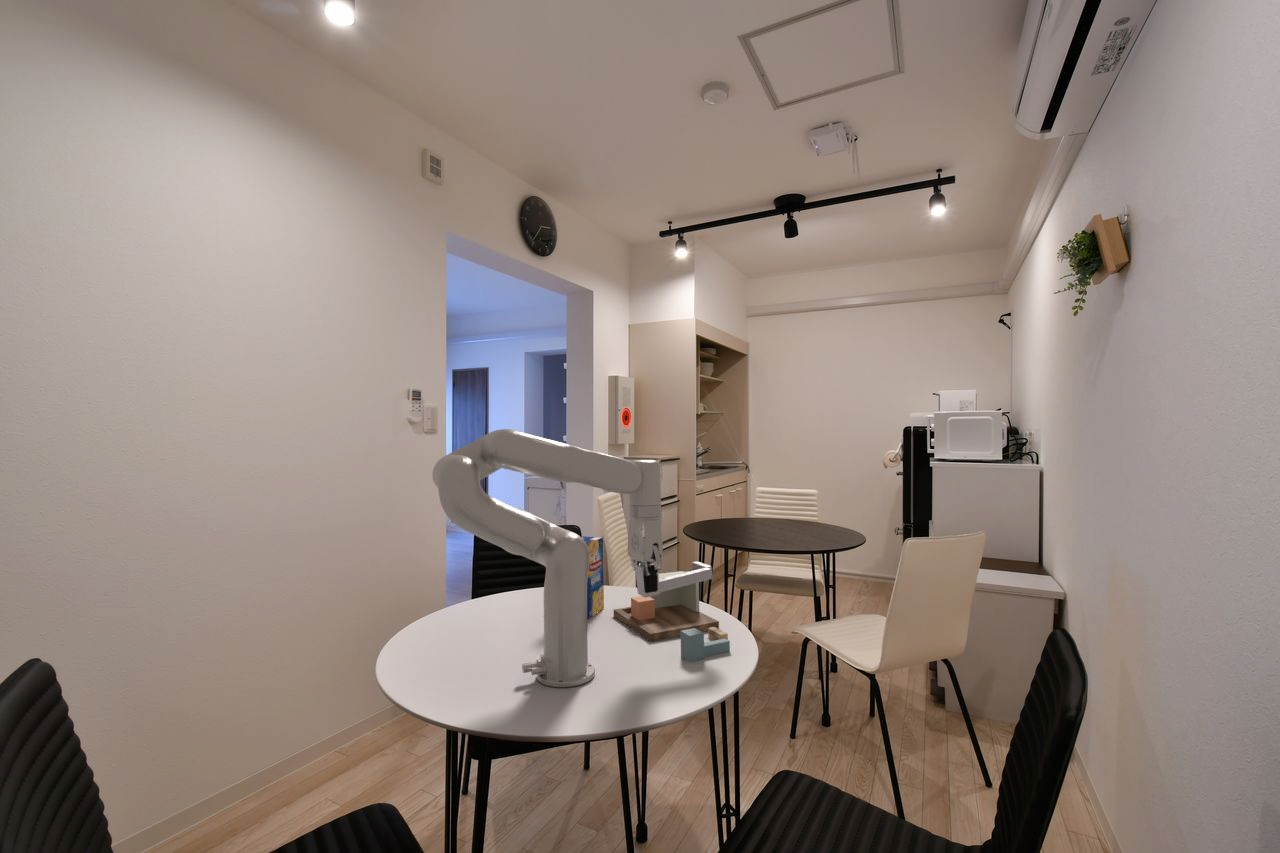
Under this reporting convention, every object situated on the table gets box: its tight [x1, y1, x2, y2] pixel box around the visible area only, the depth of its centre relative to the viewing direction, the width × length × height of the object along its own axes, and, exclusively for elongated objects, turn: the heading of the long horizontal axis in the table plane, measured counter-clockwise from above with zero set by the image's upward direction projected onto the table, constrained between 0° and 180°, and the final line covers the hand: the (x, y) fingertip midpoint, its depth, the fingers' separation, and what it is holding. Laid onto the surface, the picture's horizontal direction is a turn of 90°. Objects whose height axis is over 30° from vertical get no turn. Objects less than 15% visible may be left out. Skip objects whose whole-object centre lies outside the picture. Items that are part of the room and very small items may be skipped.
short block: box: [707, 627, 729, 641], centre depth 144 cm, size 6×2×2 cm, turn 26°
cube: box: [630, 595, 655, 620], centre depth 158 cm, size 5×5×5 cm
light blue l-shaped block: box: [680, 628, 731, 663], centre depth 134 cm, size 12×4×6 cm, turn 116°
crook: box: [634, 560, 713, 598], centre depth 139 cm, size 21×10×7 cm, turn 116°
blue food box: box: [580, 536, 605, 620], centre depth 169 cm, size 7×11×22 cm, turn 159°
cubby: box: [650, 570, 700, 612], centre depth 164 cm, size 11×10×10 cm
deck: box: [613, 604, 720, 642], centre depth 158 cm, size 21×24×2 cm
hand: (646, 588), depth 132 cm, fingers closed on crook, 4 cm apart
